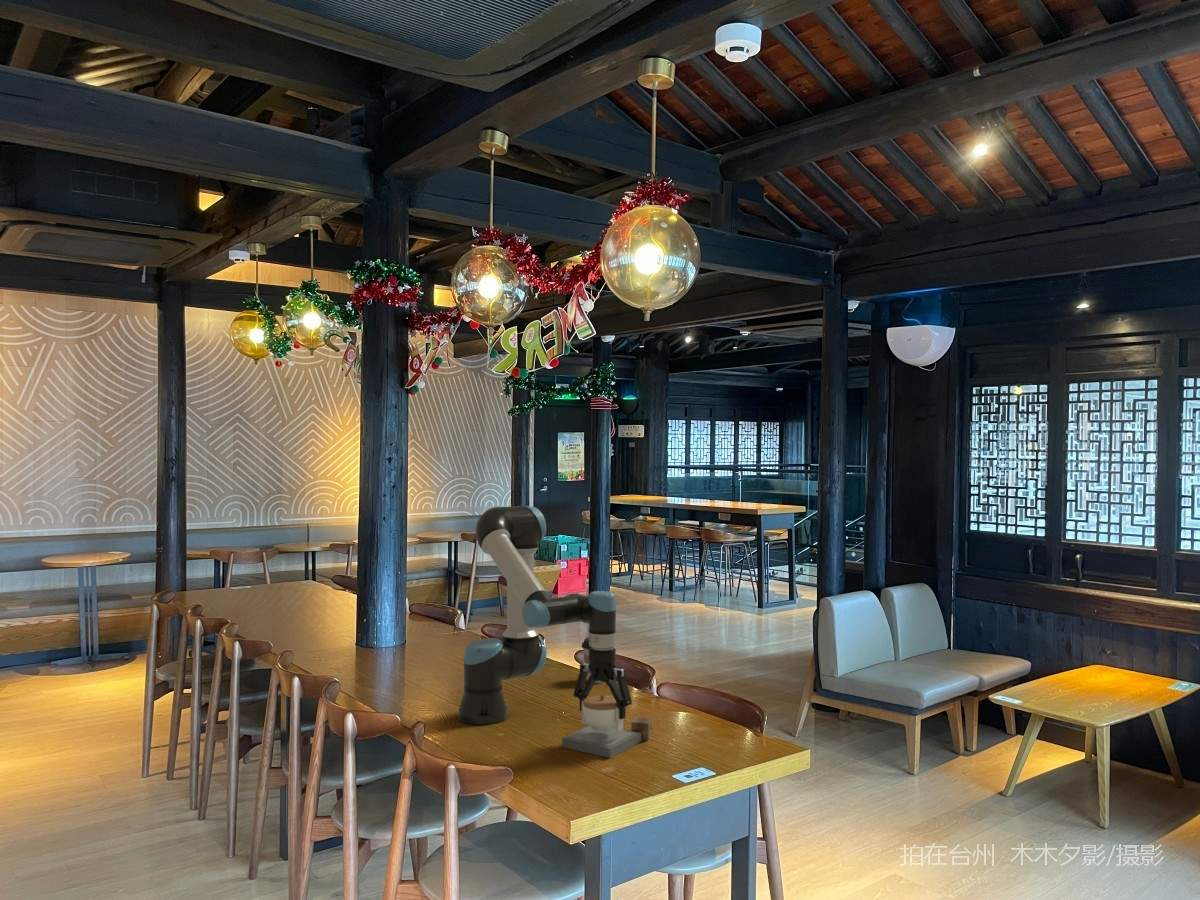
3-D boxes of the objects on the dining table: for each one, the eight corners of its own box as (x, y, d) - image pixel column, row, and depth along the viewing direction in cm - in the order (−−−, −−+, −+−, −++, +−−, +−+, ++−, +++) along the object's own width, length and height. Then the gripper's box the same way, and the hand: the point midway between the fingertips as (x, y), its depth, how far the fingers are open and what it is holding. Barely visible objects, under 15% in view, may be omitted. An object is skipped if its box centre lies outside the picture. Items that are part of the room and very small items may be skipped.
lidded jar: (588, 735, 228) (588, 701, 228) (579, 724, 239) (579, 690, 239) (626, 732, 231) (626, 698, 231) (615, 721, 241) (615, 688, 242)
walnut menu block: (631, 739, 239) (631, 722, 239) (634, 734, 244) (635, 716, 244) (648, 741, 238) (648, 723, 238) (651, 735, 243) (651, 718, 243)
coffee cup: (614, 677, 308) (614, 636, 308) (611, 685, 297) (611, 642, 297) (583, 676, 309) (583, 635, 309) (579, 684, 298) (579, 642, 298)
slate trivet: (562, 746, 233) (562, 737, 233) (594, 731, 246) (594, 722, 246) (610, 758, 224) (610, 748, 224) (641, 741, 237) (641, 732, 237)
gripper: (560, 644, 238) (560, 722, 238) (630, 655, 226) (630, 737, 225) (576, 640, 245) (576, 716, 244) (644, 650, 232) (644, 730, 232)
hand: (602, 726), depth 235 cm, fingers closed on lidded jar, 11 cm apart
